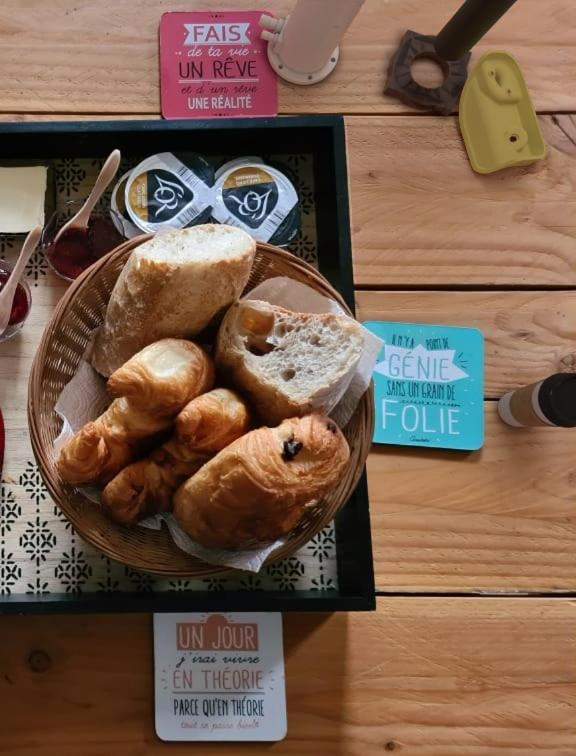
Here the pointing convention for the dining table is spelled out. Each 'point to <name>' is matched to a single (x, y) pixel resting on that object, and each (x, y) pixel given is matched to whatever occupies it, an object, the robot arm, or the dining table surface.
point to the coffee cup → (542, 403)
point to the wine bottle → (469, 27)
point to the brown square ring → (410, 90)
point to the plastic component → (499, 115)
